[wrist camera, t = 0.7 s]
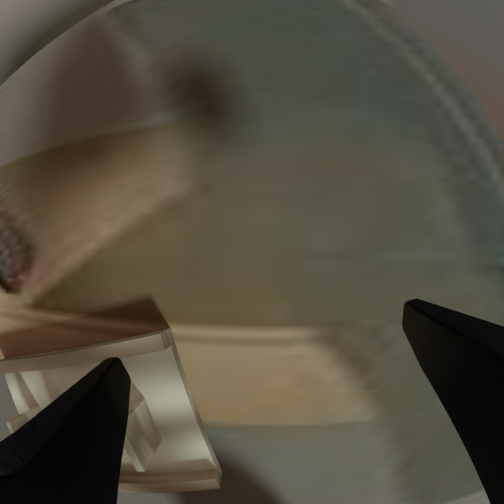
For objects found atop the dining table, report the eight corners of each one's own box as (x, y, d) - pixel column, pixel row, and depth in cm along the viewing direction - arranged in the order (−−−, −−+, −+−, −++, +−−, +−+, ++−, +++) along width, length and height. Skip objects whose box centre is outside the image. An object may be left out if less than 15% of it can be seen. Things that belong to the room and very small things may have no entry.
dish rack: (222, 470, 21) (216, 514, 15) (55, 471, 20) (28, 496, 14) (170, 327, 22) (143, 343, 16) (6, 358, 21) (-32, 368, 15)
